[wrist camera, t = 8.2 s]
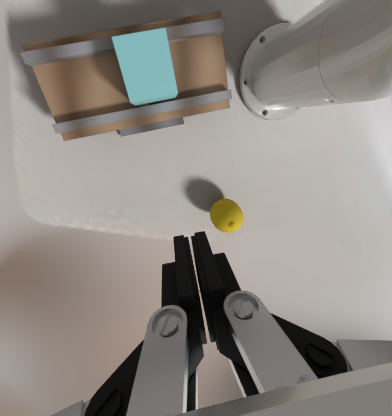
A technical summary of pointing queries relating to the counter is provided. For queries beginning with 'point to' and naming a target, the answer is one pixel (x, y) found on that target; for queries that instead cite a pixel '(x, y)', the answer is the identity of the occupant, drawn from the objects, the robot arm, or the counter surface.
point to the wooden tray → (114, 83)
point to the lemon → (226, 215)
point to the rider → (146, 66)
